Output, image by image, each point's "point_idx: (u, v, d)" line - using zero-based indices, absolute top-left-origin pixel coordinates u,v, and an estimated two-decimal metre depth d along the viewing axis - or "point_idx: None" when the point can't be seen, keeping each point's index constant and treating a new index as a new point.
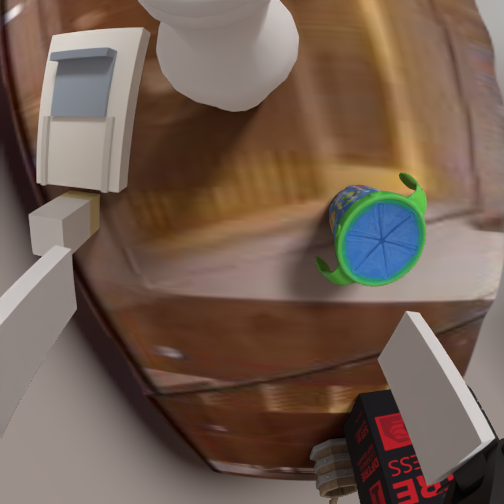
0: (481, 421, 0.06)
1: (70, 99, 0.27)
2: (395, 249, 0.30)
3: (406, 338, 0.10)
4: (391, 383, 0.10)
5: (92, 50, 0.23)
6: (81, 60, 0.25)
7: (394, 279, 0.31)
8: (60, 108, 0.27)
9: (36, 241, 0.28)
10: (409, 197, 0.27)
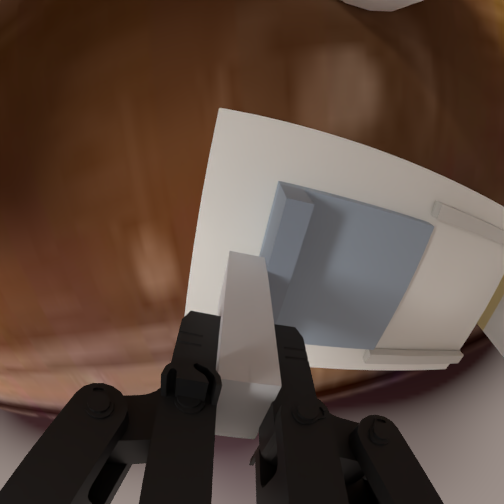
0: (267, 361, 0.07)
1: (365, 306, 0.15)
2: None
3: None
4: None
5: (280, 250, 0.11)
6: None
7: None
8: (371, 328, 0.15)
9: None
10: None
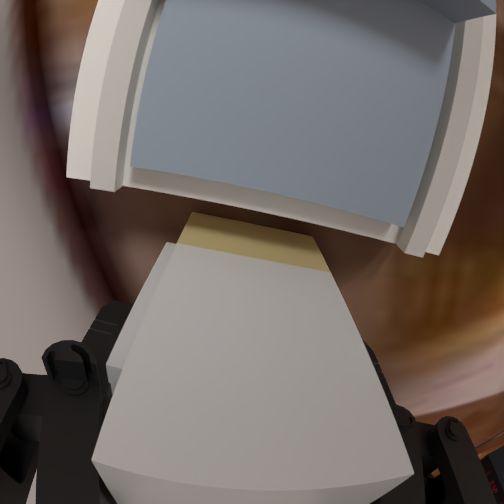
0: None
1: (255, 108, 0.07)
2: None
3: None
4: None
5: None
6: None
7: None
8: (194, 139, 0.07)
9: None
10: None
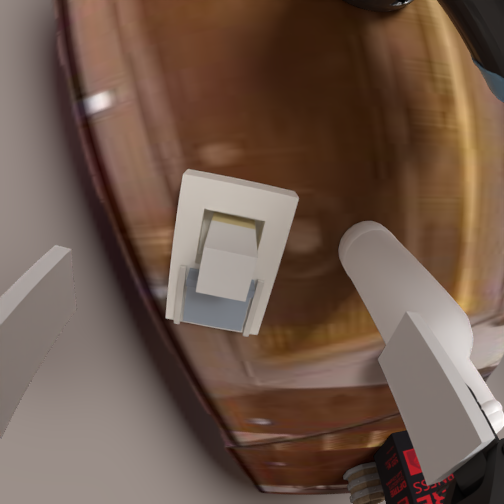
0: (481, 421, 0.06)
1: (206, 313, 0.39)
2: None
3: (406, 338, 0.10)
4: (391, 383, 0.10)
5: None
6: None
7: None
8: (195, 317, 0.39)
9: (208, 278, 0.29)
10: None
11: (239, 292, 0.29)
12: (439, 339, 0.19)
